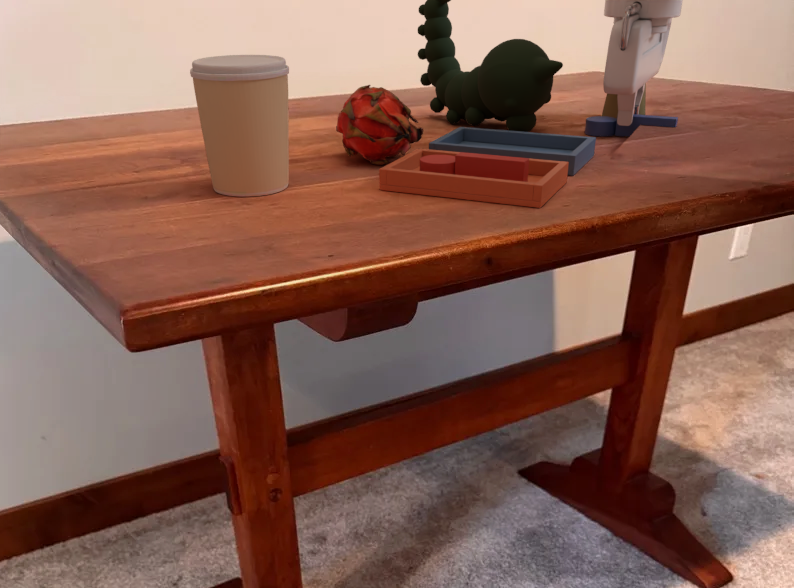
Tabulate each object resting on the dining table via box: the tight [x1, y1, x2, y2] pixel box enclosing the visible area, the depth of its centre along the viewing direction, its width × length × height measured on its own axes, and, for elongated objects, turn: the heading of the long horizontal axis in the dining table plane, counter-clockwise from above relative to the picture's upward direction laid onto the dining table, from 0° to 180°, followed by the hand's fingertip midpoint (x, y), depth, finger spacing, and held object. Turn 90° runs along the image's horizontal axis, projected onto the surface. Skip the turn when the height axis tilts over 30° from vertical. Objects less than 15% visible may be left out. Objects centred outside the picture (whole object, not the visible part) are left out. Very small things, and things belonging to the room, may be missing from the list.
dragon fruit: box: [335, 84, 424, 166], centre depth 90 cm, size 8×8×12 cm
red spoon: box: [420, 152, 529, 182], centre depth 80 cm, size 11×4×2 cm, turn 65°
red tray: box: [378, 148, 569, 209], centre depth 81 cm, size 17×10×2 cm, turn 65°
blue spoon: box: [584, 114, 679, 138], centre depth 101 cm, size 11×4×2 cm, turn 65°
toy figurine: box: [417, 0, 564, 132], centre depth 103 cm, size 9×19×25 cm
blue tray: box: [428, 126, 597, 177], centre depth 91 cm, size 17×10×2 cm, turn 65°
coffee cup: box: [189, 54, 290, 197], centre depth 79 cm, size 9×9×12 cm
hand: (627, 122), depth 101 cm, fingers closed
